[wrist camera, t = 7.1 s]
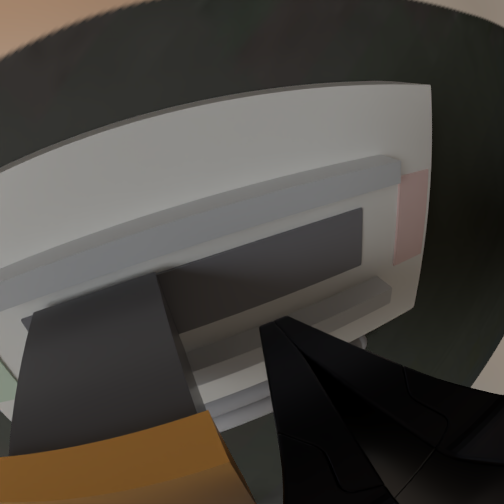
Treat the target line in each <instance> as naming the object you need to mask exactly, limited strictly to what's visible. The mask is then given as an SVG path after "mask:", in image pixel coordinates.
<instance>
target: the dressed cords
mask: <svg viewBox="0 0 504 504" xmlns="http://www.w3.org/2000/svg"><path fill="white" fill-rule="evenodd" d="M349 343H351V344H353V345H355V346H357V347H360V348H362V349H365V348H366V346H367V339H366V337H365V335H363V336H361V337H359V338H357V339H355V340H353V341H351V342H349ZM204 405H205V408H206V410H209V412H210V414H211V416H212V418H213V421H214V423H215V425H216V426H217V428H218V430H219V432H222V431H225V430H228V429H231V428H233V427H236V426H239V425H241V424H244V423H246V422H249V421H252V420H254V419H257V418H259V417H261V416H264V415H266V414H269V413H271V412H273V408H272V402H271V397H270V391H269V385H268V380H266V381H263V382H261V383H258V384H256V385H253V386H251V387H248V388H246V389H243V390H241V391H238V392H236V393H233V394H230V395H228V396H225V397H222V398H219V399H217V400H214V401H211V402H208V403H205V404H204Z"/></svg>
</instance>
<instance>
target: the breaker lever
mask: <svg viewBox="0 0 504 504" xmlns="http://www.w3.org/2000/svg"><path fill="white" fill-rule="evenodd" d="M0 504H256V502H255V500H254V498H253V496H252V494H251V492H250V490H249V487H248V485H247V483H246V481H245V479H244V477H243V475H242V474H241V472H240V470H239V468H238V466H237V465H236V463H235V461H234V459H233V457H232V455H231V453H230V452H229V450H228V448H227V446H226V444H225V442H224V440H223V438H222V436H221V434H220V432H219V430H218V428H217V426H216V425H215V423H214V421H213V418H212V416H211V414H210V412H209V410H206V408H205V405H204V403H203V400H202V397H201V395H200V392H199V389H198V386H197V384H196V381H195V378H194V375H193V372H192V370H191V367H190V364H189V361H188V358H187V355H186V352H185V349H184V346H183V344H182V341H181V339H180V336H179V334H178V331H177V329H176V326H175V324H174V321H173V319H172V316H171V313H170V311H169V308H168V306H167V303H166V300H165V298H164V295H163V292H162V289H161V287H160V284H159V281H158V278H157V276H156V273H155V272H152V273H149V274H146V275H143V276H140V277H137V278H134V279H131V280H128V281H125V282H122V283H119V284H116V285H113V286H110V287H107V288H104V289H101V290H98V291H95V292H92V293H89V294H86V295H83V296H80V297H77V298H74V299H71V300H68V301H65V302H62V303H60V304H57V305H54V306H51V307H48V308H45V309H42V310H39V311H36V312H33V316H32V319H31V323H30V327H29V331H28V335H27V339H26V343H25V348H24V352H23V357H22V361H21V366H20V371H19V377H18V382H17V388H16V394H15V401H14V408H13V416H12V424H11V434H10V446H9V457H0Z"/></svg>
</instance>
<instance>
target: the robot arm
mask: <svg viewBox="0 0 504 504" xmlns="http://www.w3.org/2000/svg"><path fill="white" fill-rule="evenodd" d="M259 332H260V338H261V344H262V350H263V356H264V362H265V367H266V373H267V379H268V385H269V391H270V397H271V402H272V408H273V414H274V420H275V426H276V431H277V438H278V444H279V450H280V457H281V465H282V477H283V504H504V395H499V394H494V393H489V392H486V391H481V390H477V389H473V388H469V387H466V386H462V385H458V384H454V383H451V382H447V381H444V380H441V379H437V378H434V377H431V376H429V375H426V374H423V373H421V372H418V371H415V370H413V369H410V368H408V367H406V366H404V367H402V365H400V364H398V363H395V362H393V361H391V360H388V359H386V358H383V357H381V356H379V355H376V354H374V353H372V352H369V351H367V350H364V349H362V348H360V347H357V346H355V345H353V344H351V343H348V342H346V341H344V340H341V339H339V338H337V337H334V336H332V335H330V334H328V333H325V332H323V331H321V330H319V329H316V328H314V327H312V326H310V325H307V324H305V323H303V322H301V321H299V320H296V319H294V318H292V317H290V316H284V317H281V318H279V319H276V320H274V321H273V322H269V323H266V324H264V325H261V326H260V327H259Z"/></svg>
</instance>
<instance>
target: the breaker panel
mask: <svg viewBox="0 0 504 504" xmlns="http://www.w3.org/2000/svg"><path fill="white" fill-rule="evenodd" d="M431 157H432V106H431V85H425V84H416V83H405V82H391V81H353V82H334V83H319V84H307V85H297V86H288V87H279V88H271V89H264V90H257V91H250V92H244V93H238V94H232V95H226V96H221V97H216V98H210V99H206V100H201V101H196V102H191V103H187V104H182V105H178V106H174V107H170V108H166V109H162V110H158V111H154V112H150V113H147V114H143V115H139V116H136V117H132V118H129V119H125V120H122V121H119V122H116V123H112V124H109V125H106V126H103V127H100V128H97V129H94V130H91V131H88V132H85V133H82V134H80V135H77V136H74V137H71V138H69V139H66V140H63V141H61V142H58V143H56V144H53V145H51V146H48V147H46V148H43V149H41V150H38V151H36V152H34V153H31V154H29V155H27V156H24V157H22V158H20V159H18V160H16V161H13V162H11V163H9V164H7V165H5V166H3V167H1V168H0V410H1V411H2V412H3V414H4V415H5V416H6V417H7V418H8V419H9V420H10V421H12V416H13V408H14V401H15V394H16V388H17V382H18V377H19V371H20V366H21V361H22V357H23V352H24V348H25V343H26V339H27V335H28V331H29V327H30V323H31V319H32V316H33V312H36V311H39V310H42V309H45V308H48V307H51V306H54V305H57V304H60V303H62V302H65V301H68V300H71V299H74V298H77V297H80V296H83V295H86V294H89V293H92V292H95V291H98V290H101V289H104V288H107V287H110V286H113V285H116V284H119V283H122V282H125V281H128V280H131V279H134V278H137V277H140V276H143V275H146V274H149V273H152V272H155V273H156V276H157V278H158V281H159V284H160V287H161V289H162V292H163V295H164V298H165V300H166V303H167V306H168V308H169V311H170V313H171V316H172V319H173V321H174V324H175V326H176V329H177V331H178V334H179V336H180V339H181V341H182V344H183V346H184V349H185V352H186V355H187V358H188V361H189V364H190V367H191V370H192V372H193V375H194V378H195V381H196V384H197V386H198V389H199V392H200V395H201V397H202V400H203V403H204V404H205V403H208V402H211V401H214V400H217V399H219V398H222V397H225V396H228V395H230V394H233V393H236V392H238V391H241V390H243V389H246V388H248V387H251V386H253V385H256V384H258V383H261V382H263V381H266V380H268V379H267V373H266V367H265V362H264V356H263V350H262V344H261V338H260V332H259V327H260V326H261V325H264V324H266V323H269V322H273V321H274V320H276V319H279V318H281V317H284V316H290V317H292V318H294V319H296V320H299V321H301V322H303V323H305V324H307V325H310V326H312V327H314V328H316V329H319V330H321V331H323V332H325V333H328V334H330V335H332V336H334V337H337V338H339V339H341V340H344V341H346V342H348V343H349V342H351V341H353V340H355V339H357V338H359V337H361V336H363V335H364V334H366V333H368V332H370V331H372V330H374V329H376V328H378V327H379V326H381V325H383V324H385V323H387V322H389V321H390V320H392V319H394V318H396V317H398V316H399V315H401V314H403V313H405V312H406V311H408V310H410V309H411V308H413V307H414V303H415V298H416V293H417V287H418V282H419V276H420V270H421V264H422V257H423V250H424V243H425V235H426V226H427V217H428V207H429V195H430V180H431Z"/></svg>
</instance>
